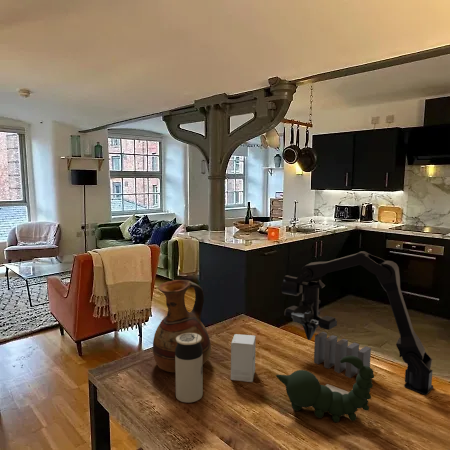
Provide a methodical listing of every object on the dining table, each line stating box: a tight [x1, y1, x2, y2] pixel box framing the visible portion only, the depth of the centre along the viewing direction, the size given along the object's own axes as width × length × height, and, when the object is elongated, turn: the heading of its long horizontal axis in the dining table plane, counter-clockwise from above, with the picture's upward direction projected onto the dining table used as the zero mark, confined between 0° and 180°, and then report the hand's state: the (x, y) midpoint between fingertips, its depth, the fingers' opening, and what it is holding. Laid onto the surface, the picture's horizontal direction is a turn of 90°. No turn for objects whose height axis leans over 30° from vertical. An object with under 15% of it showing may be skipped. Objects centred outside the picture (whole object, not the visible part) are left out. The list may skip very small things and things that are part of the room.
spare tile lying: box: [325, 383, 350, 394], centre depth 106 cm, size 10×5×2 cm, turn 51°
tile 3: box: [334, 338, 349, 374], centre depth 122 cm, size 2×5×10 cm, turn 133°
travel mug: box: [175, 333, 204, 404], centre depth 106 cm, size 8×8×18 cm
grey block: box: [345, 342, 360, 379], centre depth 119 cm, size 2×5×10 cm, turn 133°
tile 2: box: [323, 334, 338, 370], centre depth 125 cm, size 2×5×10 cm, turn 133°
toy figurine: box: [275, 356, 375, 423], centre depth 98 cm, size 9×19×25 cm
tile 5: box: [356, 346, 372, 376], centre depth 116 cm, size 2×5×10 cm, turn 133°
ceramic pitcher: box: [152, 279, 212, 373], centre depth 124 cm, size 20×20×30 cm
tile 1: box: [313, 331, 328, 365], centre depth 127 cm, size 2×5×10 cm, turn 133°
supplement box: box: [230, 333, 257, 383], centre depth 118 cm, size 7×7×13 cm
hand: (309, 339), depth 131 cm, fingers closed
